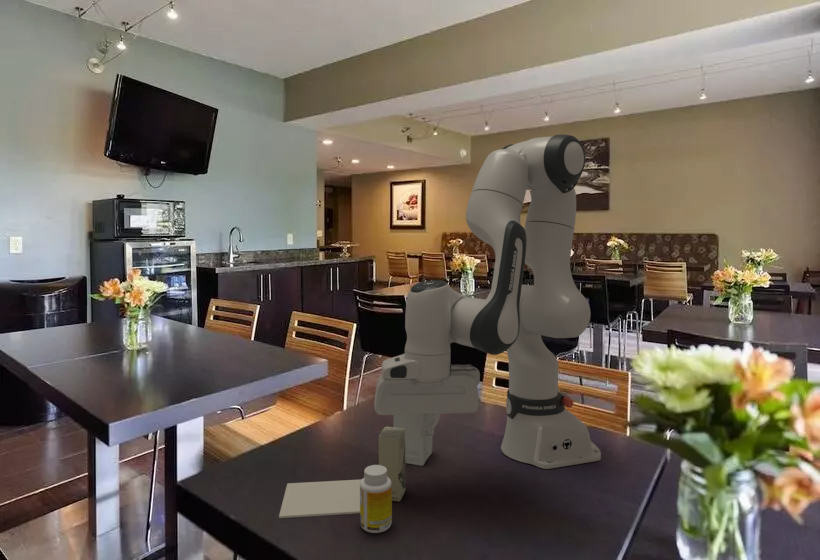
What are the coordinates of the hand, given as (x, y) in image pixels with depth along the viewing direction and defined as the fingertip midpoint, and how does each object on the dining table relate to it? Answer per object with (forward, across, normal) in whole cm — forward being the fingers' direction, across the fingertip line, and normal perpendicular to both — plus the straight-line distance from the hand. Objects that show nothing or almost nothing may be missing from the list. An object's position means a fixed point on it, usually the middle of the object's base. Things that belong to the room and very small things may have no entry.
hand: (426, 434), depth 100 cm
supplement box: (+12, 0, -16) cm, 20 cm away
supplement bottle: (+12, +10, +10) cm, 19 cm away
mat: (+12, +18, 0) cm, 22 cm away
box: (+12, +6, 0) cm, 14 cm away
